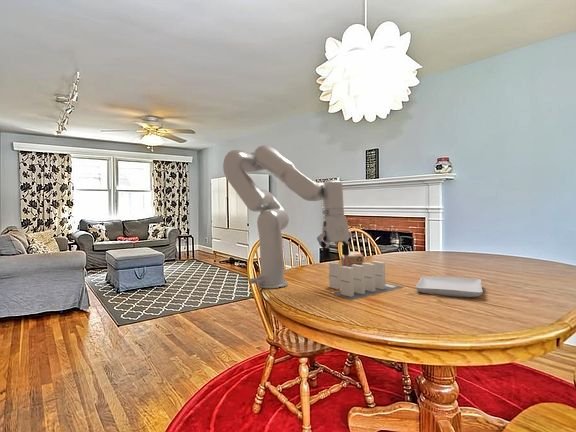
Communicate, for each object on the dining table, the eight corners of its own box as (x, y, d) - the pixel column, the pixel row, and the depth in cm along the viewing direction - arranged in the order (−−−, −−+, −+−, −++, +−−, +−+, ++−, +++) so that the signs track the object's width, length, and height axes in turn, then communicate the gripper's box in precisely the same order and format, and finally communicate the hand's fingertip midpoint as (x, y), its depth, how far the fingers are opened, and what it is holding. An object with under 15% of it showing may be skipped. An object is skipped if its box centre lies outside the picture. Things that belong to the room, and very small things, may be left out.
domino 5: (382, 289, 130) (382, 263, 130) (372, 287, 134) (372, 261, 134) (385, 288, 131) (385, 262, 131) (375, 286, 135) (374, 260, 135)
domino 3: (361, 294, 124) (361, 266, 124) (351, 291, 128) (351, 264, 128) (365, 293, 125) (364, 266, 125) (355, 290, 129) (354, 264, 129)
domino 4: (372, 291, 127) (371, 264, 127) (362, 289, 131) (361, 263, 131) (375, 291, 128) (375, 264, 128) (365, 288, 132) (365, 262, 132)
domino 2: (350, 296, 121) (349, 268, 121) (340, 294, 125) (340, 266, 125) (353, 296, 122) (353, 267, 122) (344, 293, 126) (343, 266, 126)
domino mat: (352, 300, 117) (352, 299, 117) (330, 294, 127) (330, 293, 127) (405, 288, 133) (405, 286, 133) (382, 283, 142) (382, 282, 142)
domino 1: (338, 290, 132) (337, 264, 132) (329, 287, 137) (328, 262, 136) (341, 289, 133) (340, 263, 133) (332, 287, 138) (332, 262, 137)
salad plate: (414, 295, 123) (414, 286, 123) (422, 283, 142) (422, 274, 142) (483, 302, 113) (483, 291, 113) (481, 287, 132) (481, 278, 132)
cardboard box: (341, 275, 161) (341, 249, 160) (355, 275, 161) (354, 248, 160) (348, 286, 139) (348, 255, 139) (364, 285, 139) (363, 255, 139)
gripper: (322, 213, 126) (325, 260, 126) (357, 211, 136) (359, 254, 136) (310, 214, 132) (312, 258, 133) (343, 211, 142) (346, 253, 142)
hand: (336, 256), depth 134 cm, fingers open, 9 cm apart
